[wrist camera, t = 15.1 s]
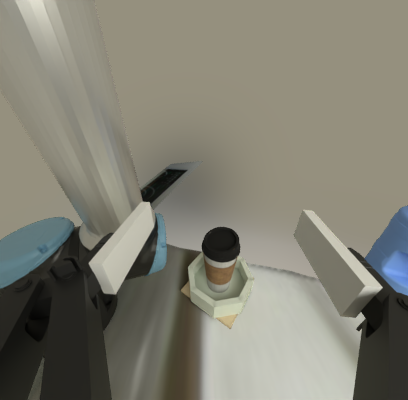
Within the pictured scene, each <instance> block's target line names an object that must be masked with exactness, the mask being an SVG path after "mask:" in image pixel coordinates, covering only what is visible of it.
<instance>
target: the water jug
mask: <svg viewBox="0 0 408 400" xmlns="http://www.w3.org/2000/svg"><path fill="white" fill-rule="evenodd" d="M365 260H366V261H367V263H369V264H370V265H371V266H372V267H373V269H375V270H376V271H377V272H378V273H379V274H380V275H381V276H382V277H383V278H384V280H385V281H386V282H387V283H388V284H389V285H390V286H391V287H392V288H393V289H394V290H395V291H396V292H398V293H402V294H405V295H407V296H408V206H404V207H402V208H400V209H399V211H398V212H397V213H396V214H395V215H394V216H393V218H392V219H391V221H390V223H389V225H388V226H387V228H386V229H385V230H384V232H383V233H382V235H381V236H380V238H378V239H377V240H376V242H375V243H374V245H373V246H372V249H371V250H370V252H369V253H368V254H367V256H366V257H365Z"/></svg>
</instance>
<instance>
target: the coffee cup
mask: <svg viewBox="0 0 408 400" xmlns="http://www.w3.org/2000/svg"><path fill="white" fill-rule="evenodd" d="M202 251H203V256H204V264H205V271H206V279H207V285H208V287H209V288H210V290H212V291H213V292H216V293H222V292H225V291H226V290H227V289H228V288H229V285H230V281H231V278H232V275H233V271H234V268H235V264H236V261H237V257H238V255H239V253H240V244H239V237H238V235H237V234H236V232H235V231H234V230H232V229H230V228H226V227H217V228H214V229H212V230H210V231H209V232H208V233H207V234H206V235H205V237H204V240H203V243H202Z"/></svg>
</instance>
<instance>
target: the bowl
mask: <svg viewBox="0 0 408 400" xmlns="http://www.w3.org/2000/svg"><path fill="white" fill-rule="evenodd" d="M188 275H189V281H188V282H187V284H186V285H185V286H184V287H183V288H182V289H181V292H182V293H184V294H185V295H186V296H188V297H189V298H190V299H191V301H192V302H193V303H194V304H195V305H197V306H198V307H199V308H201V309H202V310H203V311H204V312H206V313H207V314H208V315H210V316H211V317H212V318H213V319H214V318H216V319H218V320H219V321H220V322H222V323H223V324H224V325H226V326H227V327H228V328H229V329H231V327H232V325H233V323H234V321H235V319H236V316H237V314H239V313H241V312H242V310H243V308H244V305H245V303H246V301H247V299H248V297H249V294H250V292H251V290H252V286H253V282H254V278H253V277H252V275H251V273H250V271H249V269H248V266H247V264H246V262H245V260H244V259H243V258H241V257H239V256H238V257H237V261H236V264H235V268H234V271H233V275H232V278H231V281H230V285H229V288H228V289H227V290H226V291H225V292H222V293H216V292H213V291H212V290H210V288H209V287H208V285H207V279H206V271H205V264H204V256H203V251H202V252H201V253H200V255H199V256H198V257H197V258H196V259H195V260H194V261H193V262H192V263H191V264H190V265H189V266H188Z"/></svg>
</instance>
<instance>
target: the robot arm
mask: <svg viewBox="0 0 408 400" xmlns="http://www.w3.org/2000/svg"><path fill="white" fill-rule="evenodd" d="M0 91H1V92H2V94H3V96H4V97H5V99H6V100H7V102H8V104H9V105H10V106H11V108H12V110H13V111H14V113H15V114H16V116H17V118H18V119H19V121H20V123H21V124H22V126H23V127H24V129H25V131H26V132H27V134H28V135H29V137H30V138H31V140H32V141H33V143H34V145H35V146H36V148H37V150H38V151H39V153H40V154H41V156H42V157H43V159H44V161H45V162H46V164H47V165H48V167H49V169H50V170H51V172H52V173H53V175H54V177H55V178H56V179H57V181H58V183H59V184H60V186H61V188H62V189H63V191H64V192H65V194H66V195H67V197H68V198H69V200H70V202H71V203H72V205H73V207H74V208H75V210H76V211H77V213H78V215H79V216H80V218H81V219H82V221H83V223H82V225H81V226H79V227H74V223H73V222H72V221H70V220H69V219H67V218H64V217H54V218H48V219H44V220H41V221H38V222H35V223H32V224H30V225H27V226H25V227H23V228H21V229H18V230H17V231H15V232H13V233H11V234H9V235H7V236H6V237H4V238H3V239H1V240H0V400H27V399H28V396H29V393H30V390H31V388H32V385H33V382H34V379H35V376H36V374H37V371H38V368H39V365H40V363H41V360H42V357H44V358H45V361H44V369H43V378H42V386H41V394H40V400H112V398H111V390H110V382H109V374H108V367H107V359H106V351H105V343H104V336H103V330H104V329H105V327H106V326H107V325H108V323H109V322H110V320H111V318H112V316H113V314H114V312H115V309H116V306H117V294H116V293H117V291H118V289H119V288H120V286H121V284H122V282H123V281H125V280H129V279H133V278H136V277H140V276H148V275H150V274H151V273H154V272H157V271H160V270H162V269H163V268H164V266H165V264H166V259H167V246H166V231H165V224H164V219H163V216H162V215H161V214H159V213H154V211H153V209H152V208H151V207H150V202H143V201H142V197H141V192H140V188H139V184H138V180H137V176H136V172H135V167H134V164H133V159H132V155H131V151H130V147H129V143H128V138H127V134H126V130H125V126H124V122H123V118H122V113H121V109H120V105H119V101H118V97H117V93H116V88H115V85H114V80H113V76H112V72H111V68H110V63H109V59H108V55H107V51H106V47H105V43H104V38H103V34H102V30H101V26H100V22H99V18H98V14H97V9H96V5H95V1H94V0H0ZM294 237H295V238H296V240H297V242H298V244H299V245H300V247H301V249H302V250H303V252H304V254H305V256H306V257H307V259H308V261H309V262H310V264H311V266H312V268H313V269H314V271H315V273H316V275H317V276H318V278H319V280H320V281H321V283H322V285H323V287H324V288H325V290H326V292H327V293H328V295H329V297H330V299H331V300H332V302H333V304H334V305H335V307H336V309H337V311H338V312H339V314H340V316H343V317H353V318H356V317H357V316H358V314H359V313H360V312H362V314H363V315H364V317H365V318H366V319H365V320H364V321H363V322H362V323H361V324H360V325H359V326H358V327H357V329H356V330H358V331H360V330H361V329H362V334H361V342H360V349H359V357H358V364H357V372H356V380H355V387H354V395H353V400H408V296H407V295H405V294H402V293H398V292H396V291H395V290H394V289H393V288H392V287H391V286H390V285H389V284H388V283H387V282H386V281H385V280H384V278H383V277H382V276H381V275H380V274H379V273H378V272H377V271H376V270H375V269H373V267H372V266H371V265H370V264H369V263H367V261H366V260H365V259H364V258H363V257H362V256H361V255H360V254H359V253H357V252H356V251H355V250H353V249H351V248H346V247H345V246H344V244H342V242H341V241H340V240H339V239H338V238H337V237H336V236H335V234H333V232H332V231H331V230H330V229H329V228H328V227H327V226H326V225H325V224H324V222H322V220H321V219H320V218H319V217H318V216H317V215H316V214H315V213H314V212H313V211H312V210H303V211H302V214H301V217H300V219H299V222H298V225H297V228H296V230H295V233H294Z"/></svg>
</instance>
